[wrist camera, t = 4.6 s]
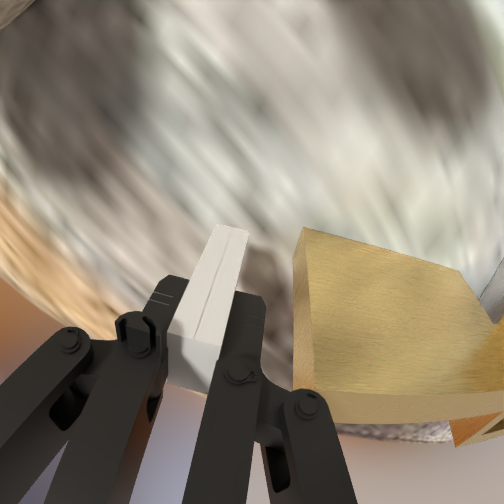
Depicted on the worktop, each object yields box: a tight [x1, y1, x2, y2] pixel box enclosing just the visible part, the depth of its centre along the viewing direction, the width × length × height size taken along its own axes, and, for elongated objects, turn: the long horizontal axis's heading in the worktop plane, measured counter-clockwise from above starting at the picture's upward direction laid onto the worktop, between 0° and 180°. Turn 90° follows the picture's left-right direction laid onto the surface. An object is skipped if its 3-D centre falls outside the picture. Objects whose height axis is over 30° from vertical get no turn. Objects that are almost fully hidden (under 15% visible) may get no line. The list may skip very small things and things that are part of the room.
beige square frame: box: [293, 227, 504, 448], centre depth 12 cm, size 10×22×10 cm, turn 78°
